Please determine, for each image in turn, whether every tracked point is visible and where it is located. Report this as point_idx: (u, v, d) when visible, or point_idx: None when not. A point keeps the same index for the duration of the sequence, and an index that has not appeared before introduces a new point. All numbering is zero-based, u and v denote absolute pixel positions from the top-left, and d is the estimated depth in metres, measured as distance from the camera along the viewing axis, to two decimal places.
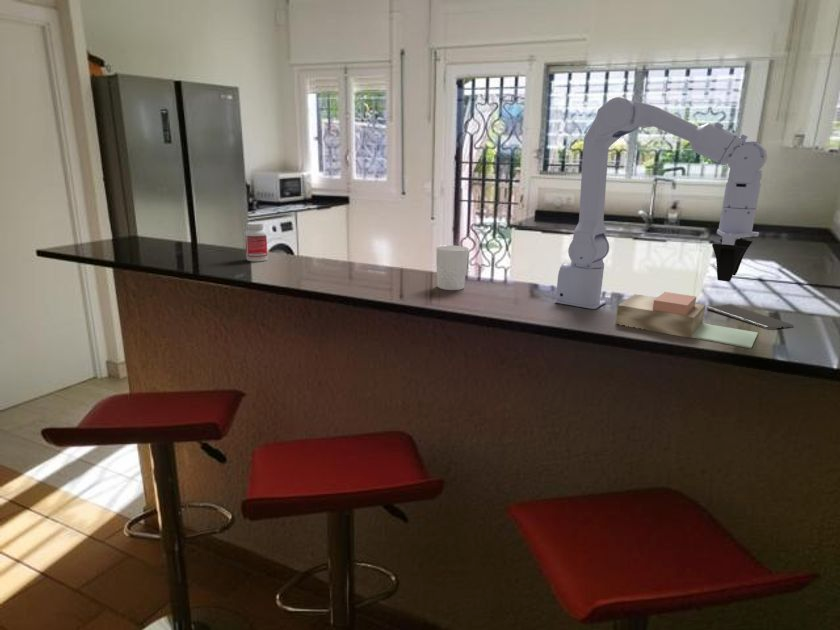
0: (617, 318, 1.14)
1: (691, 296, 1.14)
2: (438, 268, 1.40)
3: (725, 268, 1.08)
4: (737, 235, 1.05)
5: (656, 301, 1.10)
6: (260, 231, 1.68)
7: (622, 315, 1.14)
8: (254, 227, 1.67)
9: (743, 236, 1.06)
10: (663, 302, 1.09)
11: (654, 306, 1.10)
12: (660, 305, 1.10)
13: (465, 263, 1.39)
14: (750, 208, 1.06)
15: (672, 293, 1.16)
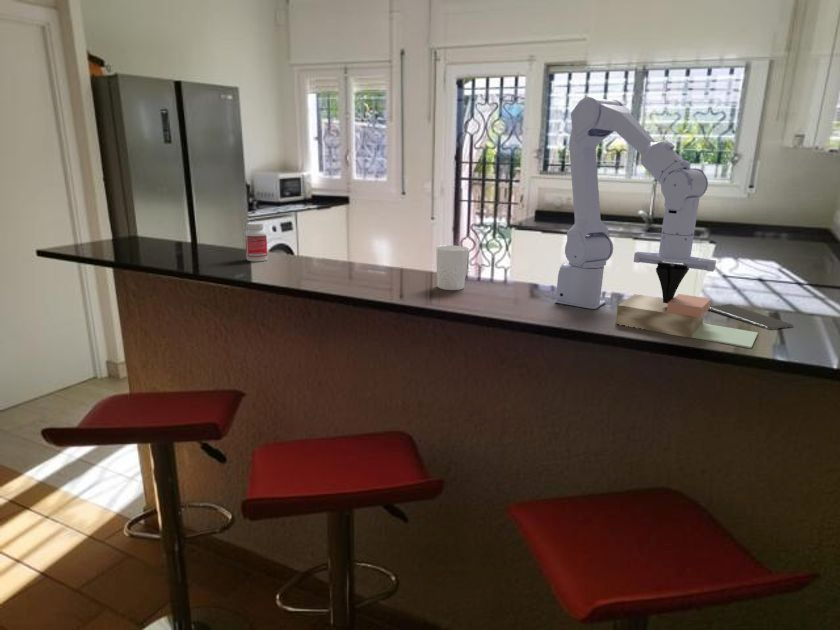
0: (617, 318, 1.14)
1: (706, 298, 1.12)
2: (438, 268, 1.40)
3: None
4: (641, 254, 1.13)
5: (670, 303, 1.08)
6: (260, 231, 1.68)
7: (622, 315, 1.14)
8: (254, 227, 1.67)
9: (652, 258, 1.11)
10: (677, 304, 1.08)
11: (668, 308, 1.09)
12: (674, 307, 1.08)
13: (465, 263, 1.39)
14: (664, 233, 1.09)
15: (686, 295, 1.15)
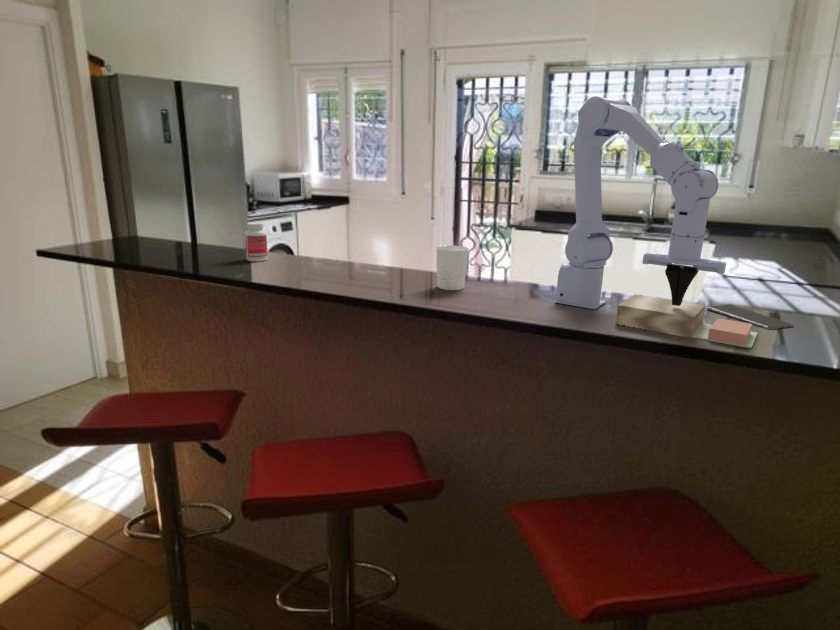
0: (617, 318, 1.14)
1: None
2: (438, 268, 1.40)
3: None
4: (650, 256, 1.12)
5: (741, 343, 1.03)
6: (260, 231, 1.68)
7: (622, 315, 1.14)
8: (254, 227, 1.67)
9: (661, 260, 1.10)
10: (733, 342, 1.04)
11: (743, 338, 1.02)
12: (736, 339, 1.03)
13: (465, 263, 1.39)
14: (674, 234, 1.08)
15: None
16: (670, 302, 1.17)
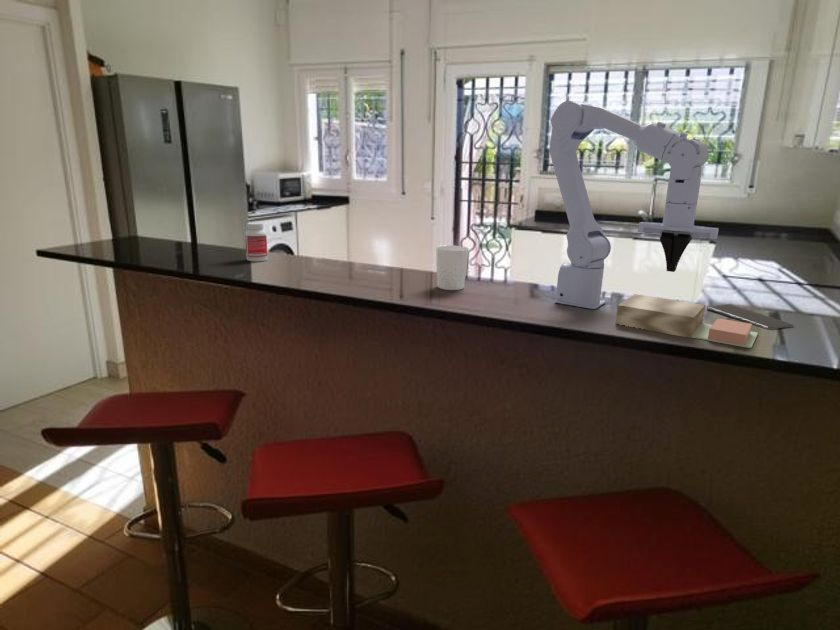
0: (617, 318, 1.14)
1: None
2: (438, 268, 1.40)
3: None
4: (645, 224, 1.16)
5: (741, 343, 1.03)
6: (260, 231, 1.68)
7: (622, 315, 1.14)
8: (254, 227, 1.67)
9: (656, 227, 1.14)
10: (733, 342, 1.04)
11: (743, 338, 1.02)
12: (736, 339, 1.03)
13: (465, 263, 1.39)
14: (668, 202, 1.12)
15: None
16: (670, 302, 1.17)
